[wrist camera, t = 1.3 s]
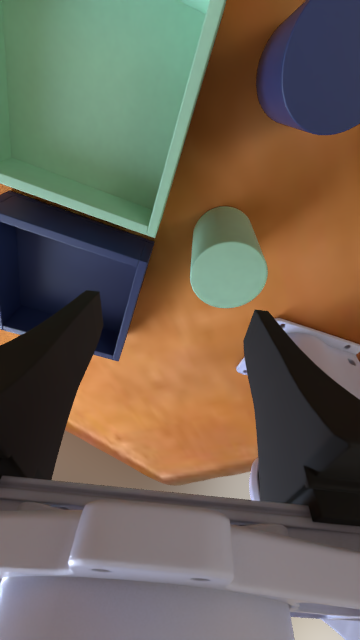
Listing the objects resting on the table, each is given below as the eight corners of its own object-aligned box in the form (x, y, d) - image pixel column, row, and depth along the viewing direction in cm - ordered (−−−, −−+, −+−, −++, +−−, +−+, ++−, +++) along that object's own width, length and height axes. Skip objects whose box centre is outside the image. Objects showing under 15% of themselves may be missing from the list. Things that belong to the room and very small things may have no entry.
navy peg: (365, 34, 13) (455, -2, 8) (309, 137, 16) (353, 153, 11) (286, -10, 12) (336, -75, 8) (241, 105, 15) (258, 108, 10)
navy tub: (154, 241, 20) (147, 263, 18) (126, 335, 27) (118, 361, 24) (9, 190, 19) (-23, 205, 16) (17, 304, 25) (-5, 328, 23)
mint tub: (225, 6, 13) (231, -18, 10) (161, 219, 19) (154, 238, 17) (-13, -118, 11) (-83, -188, 8) (7, 162, 18) (-28, 173, 15)
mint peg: (263, 219, 19) (283, 257, 14) (235, 270, 22) (244, 317, 17) (206, 196, 18) (207, 229, 14) (184, 252, 21) (179, 296, 16)
